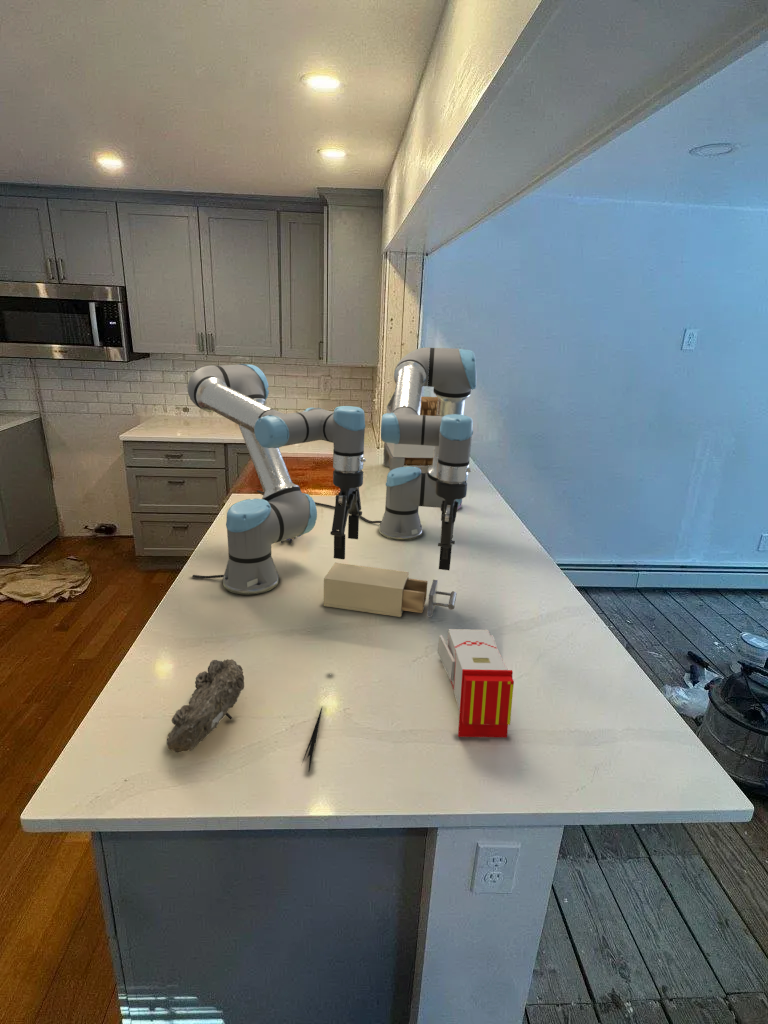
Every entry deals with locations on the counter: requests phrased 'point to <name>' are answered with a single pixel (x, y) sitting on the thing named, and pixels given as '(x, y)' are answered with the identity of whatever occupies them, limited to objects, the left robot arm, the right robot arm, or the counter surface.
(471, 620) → the counter surface
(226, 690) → the fossil
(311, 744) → the feather
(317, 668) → the counter surface
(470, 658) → the toy
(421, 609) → the drawer
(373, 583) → the cabinet
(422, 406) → the transformer
